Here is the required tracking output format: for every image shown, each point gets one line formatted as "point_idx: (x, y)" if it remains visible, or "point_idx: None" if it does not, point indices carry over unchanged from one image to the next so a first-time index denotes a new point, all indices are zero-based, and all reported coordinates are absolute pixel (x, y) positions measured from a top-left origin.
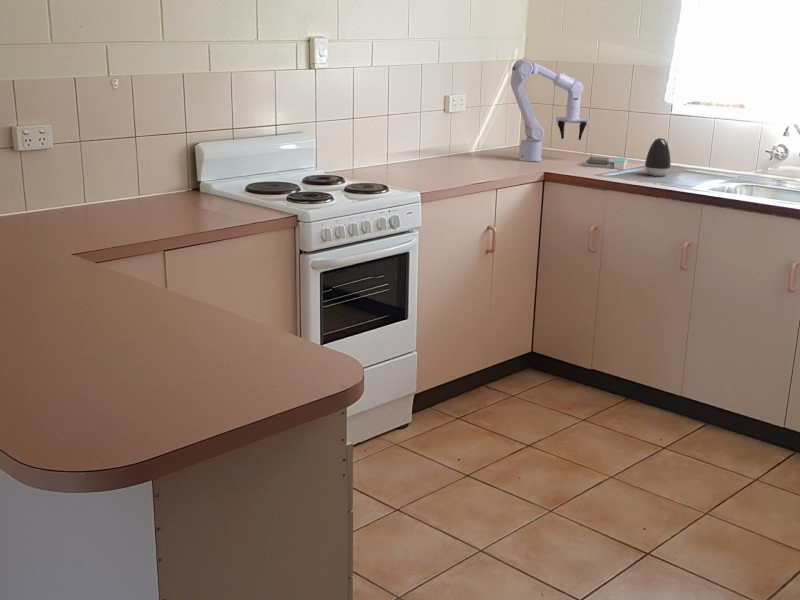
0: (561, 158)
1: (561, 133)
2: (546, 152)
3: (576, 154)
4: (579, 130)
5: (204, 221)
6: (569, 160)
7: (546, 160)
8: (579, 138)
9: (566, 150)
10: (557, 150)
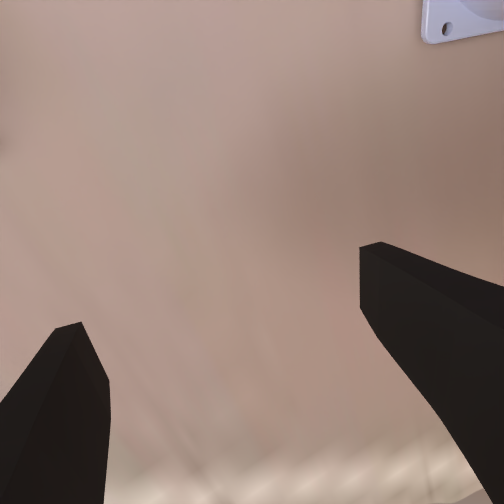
0: (287, 234)
1: (445, 273)
2: None
3: (249, 441)
4: (9, 477)
5: None
6: (185, 177)
7: (383, 20)
8: (55, 339)
9: (341, 492)
10: (385, 463)
